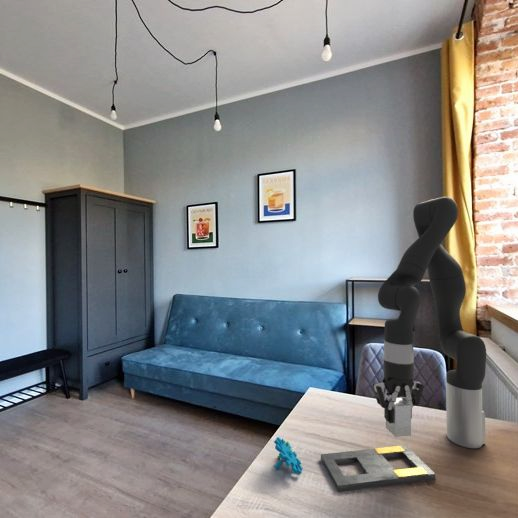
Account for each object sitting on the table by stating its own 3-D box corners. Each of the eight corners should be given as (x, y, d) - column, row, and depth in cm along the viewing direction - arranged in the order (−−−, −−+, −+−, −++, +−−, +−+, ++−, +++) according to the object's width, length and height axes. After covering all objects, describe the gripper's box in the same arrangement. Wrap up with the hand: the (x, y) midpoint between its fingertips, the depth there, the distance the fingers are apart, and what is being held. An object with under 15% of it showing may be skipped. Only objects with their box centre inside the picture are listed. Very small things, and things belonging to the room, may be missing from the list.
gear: (304, 478, 76) (276, 445, 78) (288, 495, 76) (260, 462, 78) (304, 456, 87) (279, 428, 89) (289, 471, 87) (264, 442, 89)
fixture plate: (405, 450, 89) (405, 444, 89) (435, 479, 78) (435, 472, 78) (320, 459, 86) (320, 453, 86) (338, 491, 74) (338, 484, 74)
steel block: (400, 426, 85) (400, 397, 85) (410, 435, 81) (411, 405, 81) (385, 427, 85) (385, 398, 85) (395, 436, 80) (395, 406, 80)
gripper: (413, 353, 88) (413, 412, 88) (366, 354, 86) (366, 416, 86) (431, 361, 80) (431, 426, 80) (381, 364, 78) (380, 430, 78)
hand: (397, 420), depth 83 cm, fingers closed on steel block, 4 cm apart
